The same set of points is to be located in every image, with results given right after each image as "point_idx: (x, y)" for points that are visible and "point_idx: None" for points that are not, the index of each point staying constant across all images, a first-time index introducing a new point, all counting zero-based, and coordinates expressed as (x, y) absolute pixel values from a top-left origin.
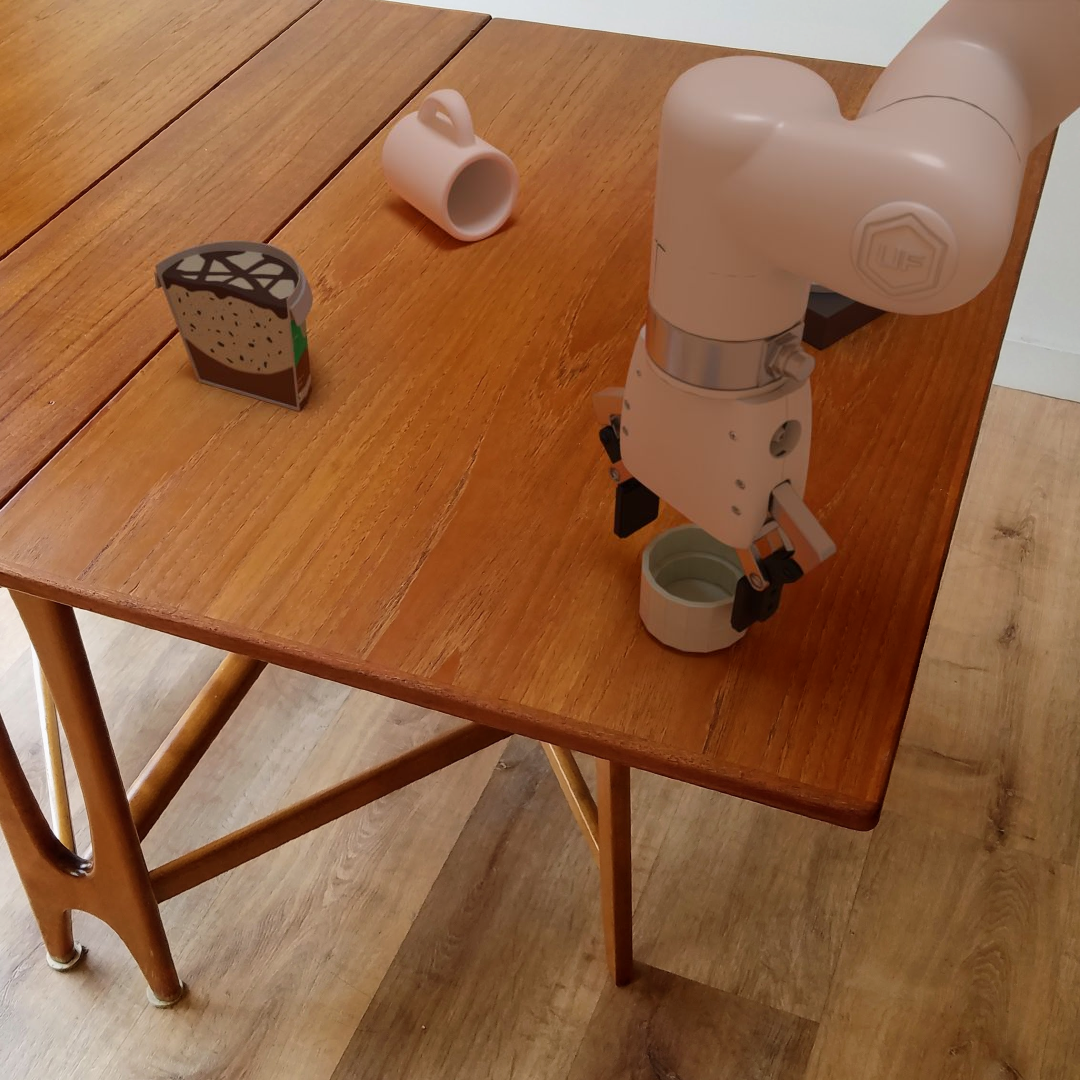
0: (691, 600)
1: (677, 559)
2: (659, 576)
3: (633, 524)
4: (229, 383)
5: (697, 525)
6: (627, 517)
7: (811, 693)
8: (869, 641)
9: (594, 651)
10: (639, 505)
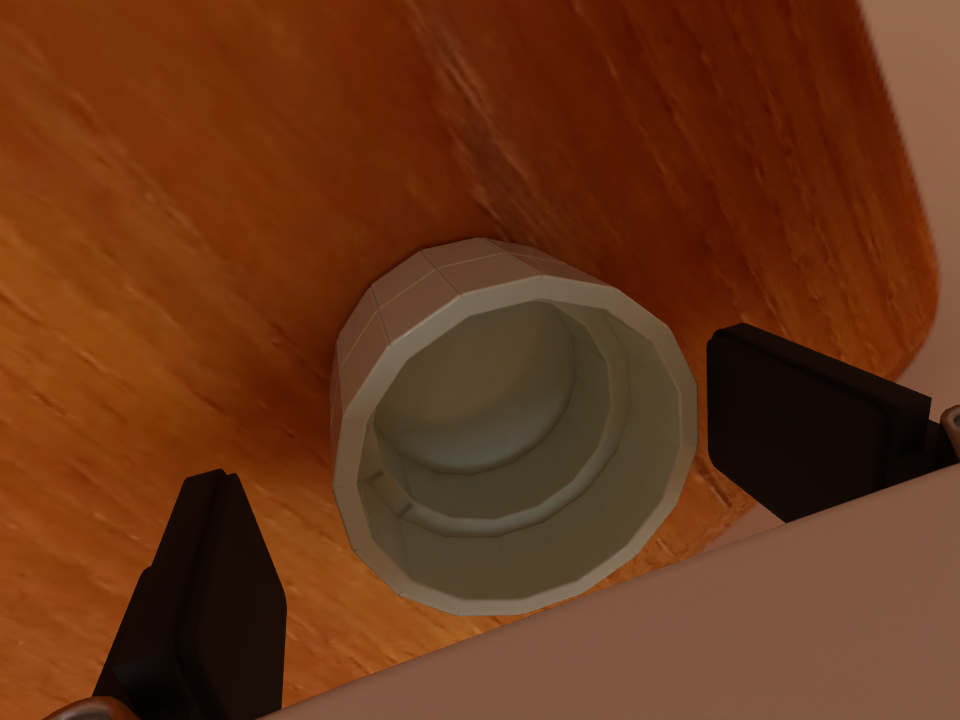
0: (445, 374)
1: (374, 415)
2: (391, 468)
3: (269, 594)
4: None
5: (371, 393)
6: (276, 663)
7: (769, 266)
8: (765, 36)
9: None
10: (256, 641)
